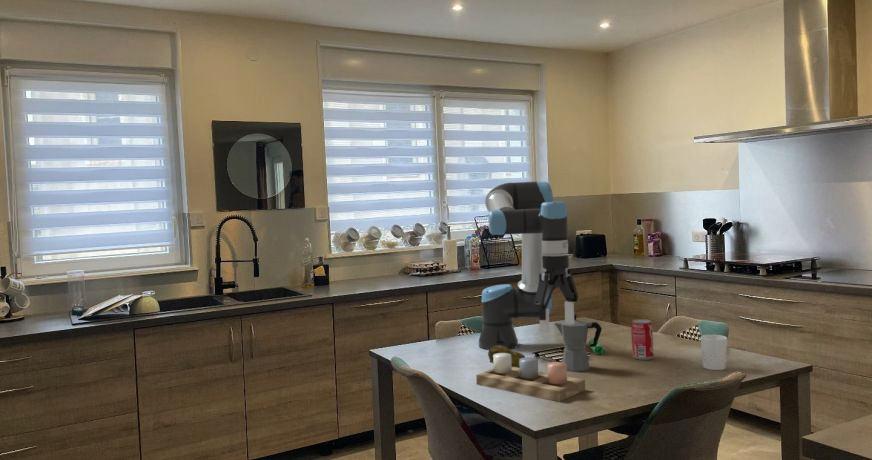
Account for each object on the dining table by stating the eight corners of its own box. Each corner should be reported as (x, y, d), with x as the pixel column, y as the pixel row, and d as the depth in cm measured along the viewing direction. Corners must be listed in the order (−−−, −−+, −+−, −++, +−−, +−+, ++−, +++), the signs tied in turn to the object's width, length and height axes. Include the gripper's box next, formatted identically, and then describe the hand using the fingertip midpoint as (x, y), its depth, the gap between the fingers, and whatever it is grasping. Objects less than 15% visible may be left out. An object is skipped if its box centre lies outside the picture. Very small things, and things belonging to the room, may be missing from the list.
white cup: (715, 372, 210) (715, 340, 209) (695, 366, 217) (695, 336, 216) (732, 368, 213) (732, 337, 213) (712, 363, 220) (712, 333, 220)
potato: (528, 371, 219) (527, 347, 219) (489, 372, 219) (488, 348, 219) (525, 364, 227) (524, 341, 227) (487, 366, 228) (486, 343, 227)
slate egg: (516, 376, 201) (515, 360, 201) (526, 372, 205) (526, 356, 205) (531, 379, 197) (530, 362, 197) (542, 375, 201) (541, 358, 201)
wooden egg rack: (476, 384, 207) (476, 374, 206) (503, 374, 217) (503, 365, 217) (559, 401, 186) (559, 391, 186) (585, 389, 196) (584, 379, 196)
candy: (586, 345, 250) (592, 336, 249) (594, 350, 249) (600, 341, 249) (592, 353, 238) (598, 343, 237) (600, 358, 238) (606, 348, 237)
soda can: (654, 360, 226) (654, 322, 226) (632, 360, 228) (632, 322, 227) (652, 355, 233) (651, 318, 233) (631, 355, 235) (630, 318, 234)
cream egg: (490, 371, 208) (489, 355, 208) (501, 367, 212) (500, 352, 212) (504, 374, 204) (503, 358, 204) (515, 370, 208) (514, 354, 208)
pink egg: (543, 381, 194) (543, 365, 194) (554, 377, 198) (554, 361, 198) (560, 385, 191) (559, 367, 190) (570, 380, 195) (570, 363, 194)
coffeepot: (552, 370, 219) (551, 316, 218) (558, 363, 228) (557, 311, 227) (600, 373, 213) (599, 317, 212) (604, 366, 222) (603, 312, 221)
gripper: (542, 259, 181) (544, 336, 182) (588, 251, 200) (590, 321, 201) (519, 258, 186) (522, 333, 187) (566, 251, 205) (568, 319, 206)
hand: (557, 327), depth 194 cm, fingers open, 13 cm apart
